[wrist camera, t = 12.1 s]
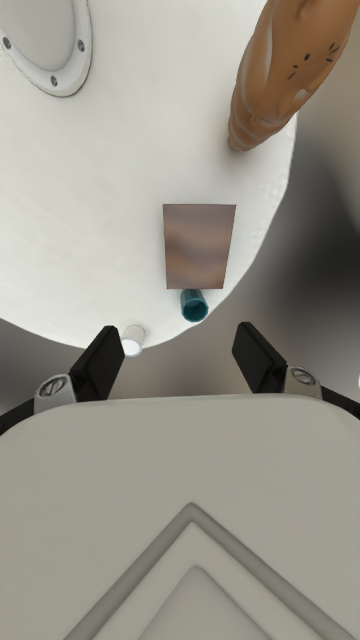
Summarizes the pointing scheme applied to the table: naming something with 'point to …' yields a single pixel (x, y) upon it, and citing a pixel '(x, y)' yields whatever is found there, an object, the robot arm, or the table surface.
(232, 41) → the table surface
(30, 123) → the table surface
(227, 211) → the stand
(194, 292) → the drinking cup
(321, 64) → the brown ridged oblong lump
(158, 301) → the table surface
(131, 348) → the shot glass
